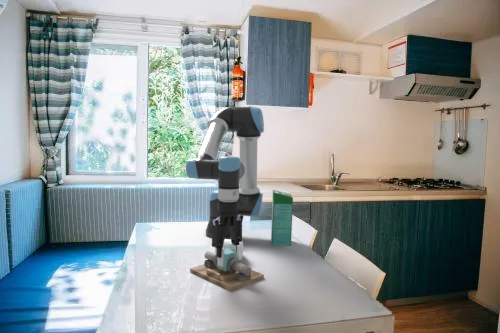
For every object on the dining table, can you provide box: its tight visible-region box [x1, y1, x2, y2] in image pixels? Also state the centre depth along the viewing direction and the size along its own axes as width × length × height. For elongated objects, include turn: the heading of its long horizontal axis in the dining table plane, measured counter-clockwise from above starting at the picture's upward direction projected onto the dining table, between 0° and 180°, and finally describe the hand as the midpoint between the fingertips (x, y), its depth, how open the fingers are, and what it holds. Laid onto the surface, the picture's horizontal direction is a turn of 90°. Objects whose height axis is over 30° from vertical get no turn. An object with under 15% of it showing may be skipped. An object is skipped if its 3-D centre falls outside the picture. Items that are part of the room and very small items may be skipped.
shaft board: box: [189, 251, 265, 292], centre depth 125 cm, size 22×16×7 cm
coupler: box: [217, 248, 237, 271], centre depth 125 cm, size 6×5×6 cm
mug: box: [214, 238, 244, 261], centre depth 144 cm, size 12×10×8 cm
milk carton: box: [270, 189, 294, 247], centre depth 166 cm, size 9×9×25 cm
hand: (226, 263), depth 125 cm, fingers closed on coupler, 5 cm apart
